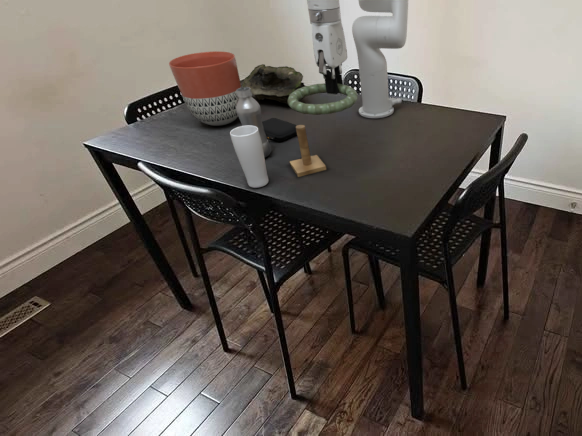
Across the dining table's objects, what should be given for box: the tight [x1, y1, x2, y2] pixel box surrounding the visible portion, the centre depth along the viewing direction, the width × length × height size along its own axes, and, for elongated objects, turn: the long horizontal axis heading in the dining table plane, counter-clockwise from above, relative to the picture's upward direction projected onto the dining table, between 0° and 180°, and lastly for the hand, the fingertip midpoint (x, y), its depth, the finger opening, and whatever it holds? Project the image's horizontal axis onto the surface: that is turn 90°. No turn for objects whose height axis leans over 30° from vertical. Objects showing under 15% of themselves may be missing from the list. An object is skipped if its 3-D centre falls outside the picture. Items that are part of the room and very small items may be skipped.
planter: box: [168, 50, 242, 127], centre depth 139 cm, size 20×20×21 cm
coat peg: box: [289, 124, 327, 178], centre depth 113 cm, size 8×8×12 cm
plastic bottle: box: [236, 86, 272, 158], centre depth 117 cm, size 6×7×20 cm
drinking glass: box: [229, 125, 270, 189], centre depth 106 cm, size 7×7×15 cm
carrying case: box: [262, 117, 297, 142], centre depth 135 cm, size 11×3×15 cm
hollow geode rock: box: [242, 63, 306, 105], centre depth 159 cm, size 28×13×15 cm
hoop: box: [287, 82, 358, 116], centre depth 105 cm, size 17×17×2 cm
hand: (335, 90), depth 111 cm, fingers closed on hoop, 2 cm apart
